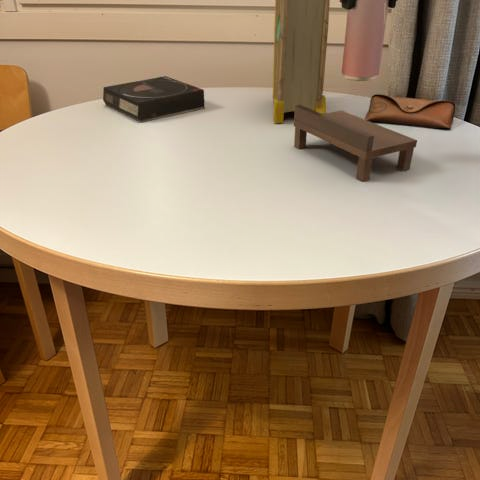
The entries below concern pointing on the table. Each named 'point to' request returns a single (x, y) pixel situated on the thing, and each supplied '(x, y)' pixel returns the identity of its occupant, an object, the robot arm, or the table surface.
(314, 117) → the wooden step stool
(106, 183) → the table surface
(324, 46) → the decorative book
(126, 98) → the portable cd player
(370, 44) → the beverage can
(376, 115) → the sunglasses case
